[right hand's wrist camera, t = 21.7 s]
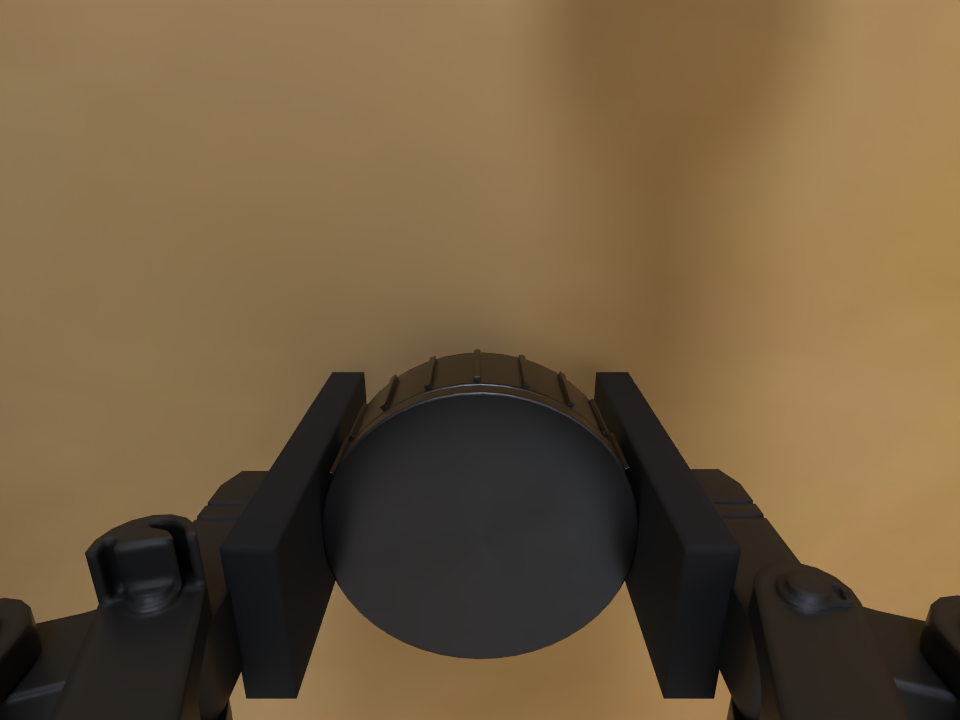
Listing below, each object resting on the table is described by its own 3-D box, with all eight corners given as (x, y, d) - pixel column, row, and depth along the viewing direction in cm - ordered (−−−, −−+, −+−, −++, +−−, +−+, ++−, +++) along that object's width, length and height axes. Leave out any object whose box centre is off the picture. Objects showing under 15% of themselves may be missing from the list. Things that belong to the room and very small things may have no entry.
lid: (375, 312, 11) (353, 347, 9) (662, 390, 11) (696, 438, 10) (317, 556, 13) (290, 625, 11) (567, 613, 13) (580, 688, 12)
